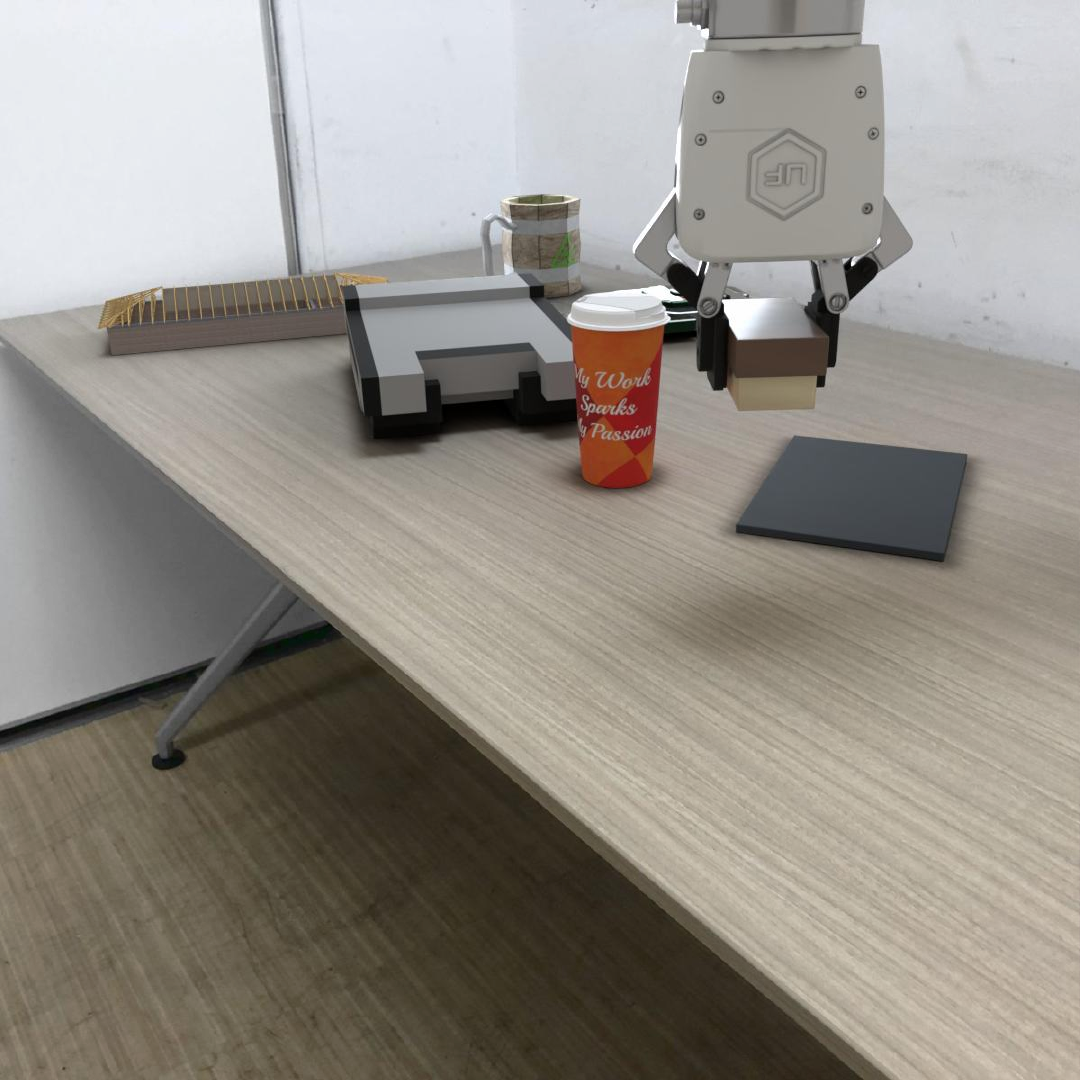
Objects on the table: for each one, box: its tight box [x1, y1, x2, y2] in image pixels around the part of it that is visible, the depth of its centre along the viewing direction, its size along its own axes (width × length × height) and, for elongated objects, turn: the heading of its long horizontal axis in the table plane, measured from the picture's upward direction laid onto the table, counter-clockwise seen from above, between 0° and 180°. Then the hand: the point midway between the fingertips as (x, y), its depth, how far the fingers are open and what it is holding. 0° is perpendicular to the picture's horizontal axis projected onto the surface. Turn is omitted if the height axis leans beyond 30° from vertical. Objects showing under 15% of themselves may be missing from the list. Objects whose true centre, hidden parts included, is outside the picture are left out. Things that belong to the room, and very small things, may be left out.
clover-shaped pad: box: [612, 284, 750, 335], centre depth 134 cm, size 18×18×5 cm
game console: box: [341, 273, 578, 439], centre depth 109 cm, size 21×32×8 cm, turn 12°
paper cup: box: [566, 291, 671, 489], centre depth 86 cm, size 8×8×14 cm
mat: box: [735, 435, 968, 562], centre depth 84 cm, size 20×14×1 cm
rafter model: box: [96, 271, 391, 356], centre depth 136 cm, size 35×14×6 cm, turn 106°
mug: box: [479, 193, 583, 299], centre depth 150 cm, size 16×11×12 cm
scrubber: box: [722, 297, 829, 412], centre depth 60 cm, size 9×5×4 cm, turn 179°
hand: (764, 378), depth 61 cm, fingers closed on scrubber, 4 cm apart
